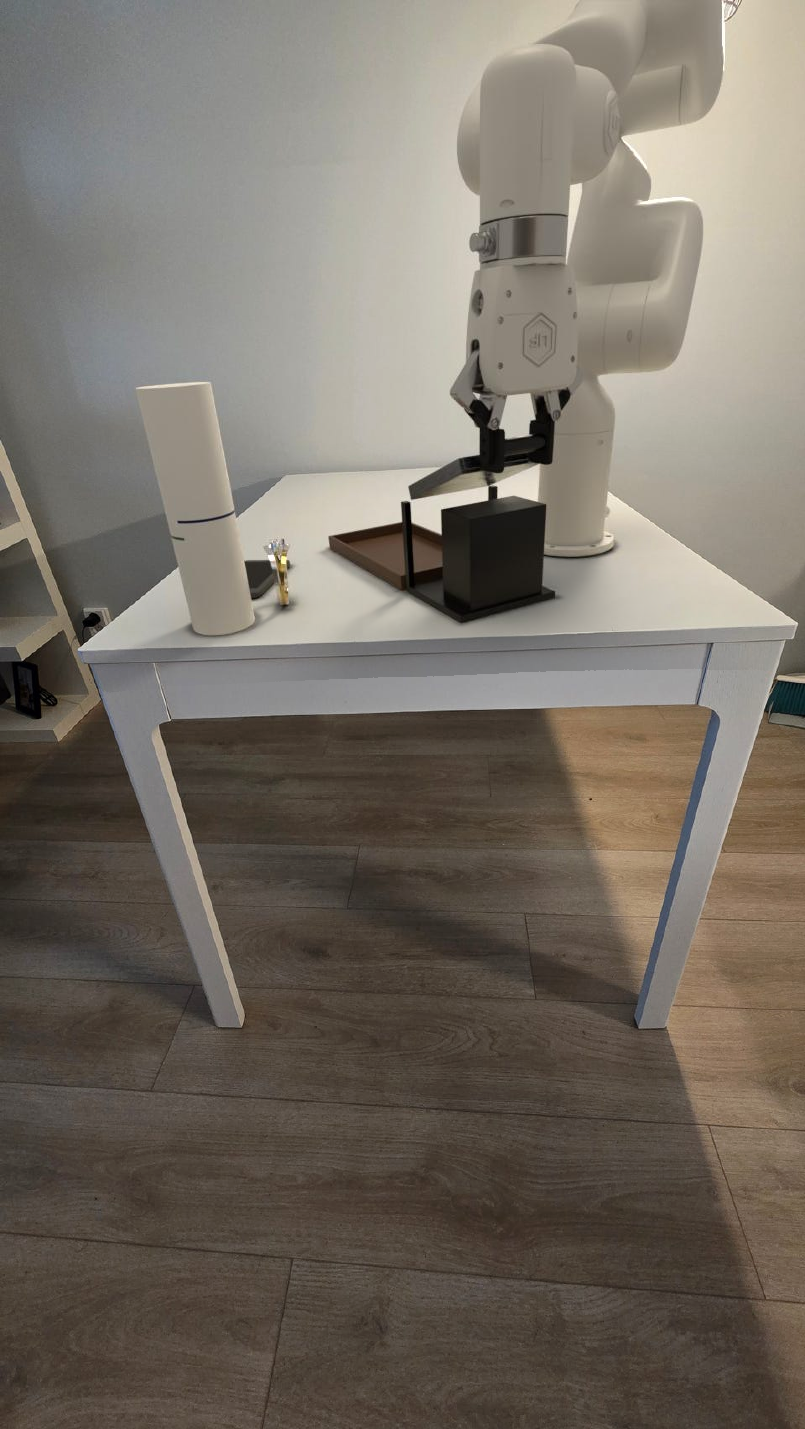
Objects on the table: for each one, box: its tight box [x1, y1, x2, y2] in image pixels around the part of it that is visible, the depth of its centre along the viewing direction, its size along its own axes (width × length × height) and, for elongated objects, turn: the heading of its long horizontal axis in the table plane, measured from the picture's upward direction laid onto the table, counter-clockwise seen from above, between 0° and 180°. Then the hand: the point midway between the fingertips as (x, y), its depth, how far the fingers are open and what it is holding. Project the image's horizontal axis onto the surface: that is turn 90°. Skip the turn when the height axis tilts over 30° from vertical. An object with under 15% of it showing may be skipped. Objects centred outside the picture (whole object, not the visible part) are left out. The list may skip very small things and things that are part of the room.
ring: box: [262, 538, 291, 606], centre depth 78 cm, size 7×3×8 cm, turn 3°
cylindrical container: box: [135, 381, 256, 636], centre depth 69 cm, size 7×7×25 cm
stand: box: [400, 484, 556, 624], centre depth 76 cm, size 13×13×11 cm
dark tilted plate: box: [407, 433, 546, 501], centre depth 70 cm, size 16×11×2 cm
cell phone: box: [244, 559, 291, 598], centre depth 88 cm, size 7×14×1 cm, turn 171°
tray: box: [327, 521, 443, 591], centre depth 93 cm, size 24×14×2 cm, turn 28°
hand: (516, 465), depth 65 cm, fingers closed on dark tilted plate, 5 cm apart
